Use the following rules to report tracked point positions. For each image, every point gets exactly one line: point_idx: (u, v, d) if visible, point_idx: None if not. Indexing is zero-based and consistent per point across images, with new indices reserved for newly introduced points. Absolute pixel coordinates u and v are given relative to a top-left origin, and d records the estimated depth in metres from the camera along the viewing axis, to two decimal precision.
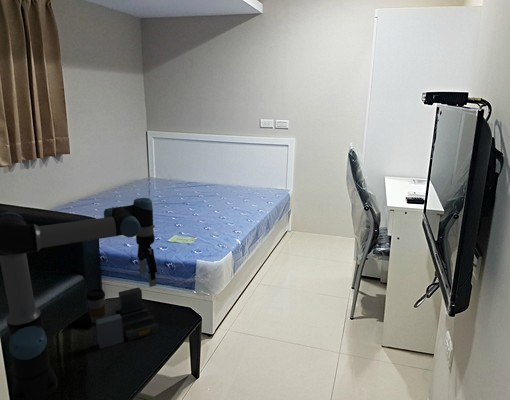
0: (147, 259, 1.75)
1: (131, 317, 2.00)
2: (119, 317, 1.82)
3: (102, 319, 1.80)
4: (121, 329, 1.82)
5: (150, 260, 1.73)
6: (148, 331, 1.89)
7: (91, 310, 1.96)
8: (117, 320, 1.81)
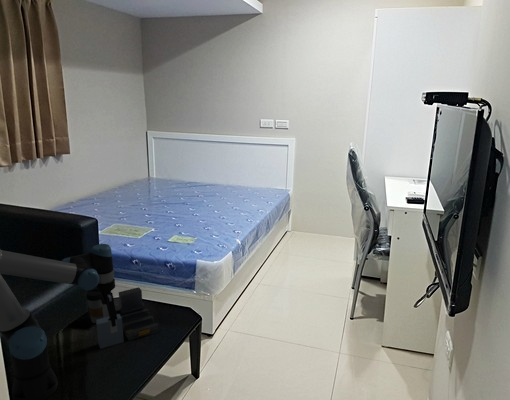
0: (107, 306, 1.74)
1: (131, 317, 2.00)
2: (119, 317, 1.82)
3: (102, 319, 1.80)
4: (121, 329, 1.82)
5: (110, 307, 1.71)
6: (148, 331, 1.89)
7: (91, 310, 1.96)
8: (117, 320, 1.81)
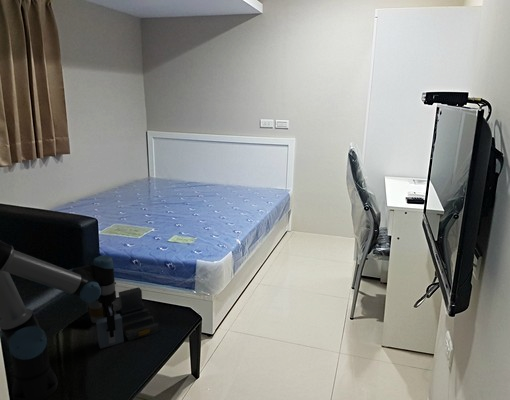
0: (107, 318, 1.77)
1: (131, 317, 2.00)
2: (119, 316, 1.82)
3: (102, 319, 1.80)
4: (121, 329, 1.82)
5: (110, 321, 1.75)
6: (148, 331, 1.89)
7: (91, 310, 1.96)
8: (117, 320, 1.81)
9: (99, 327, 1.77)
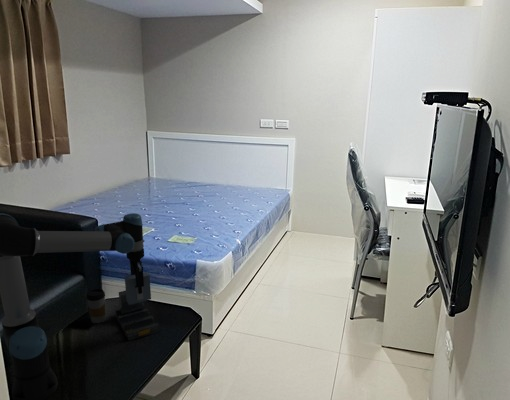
0: (136, 274, 1.82)
1: (131, 317, 2.00)
2: (147, 274, 1.87)
3: (130, 276, 1.85)
4: (149, 286, 1.87)
5: (139, 277, 1.80)
6: (148, 331, 1.89)
7: (91, 310, 1.96)
8: (145, 277, 1.85)
9: (128, 283, 1.82)
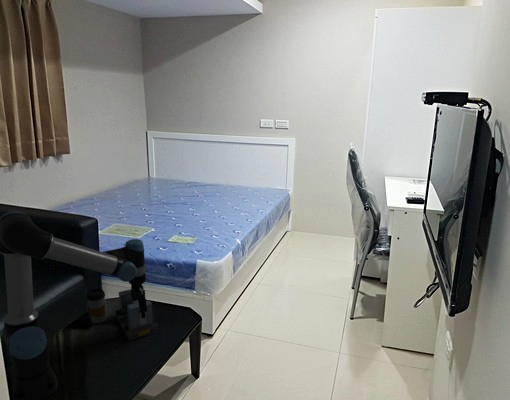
0: (138, 298, 1.84)
1: None
2: (149, 302, 1.91)
3: (133, 304, 1.89)
4: (151, 315, 1.91)
5: (141, 301, 1.81)
6: (148, 331, 1.89)
7: (91, 310, 1.96)
8: (147, 306, 1.89)
9: (131, 312, 1.86)
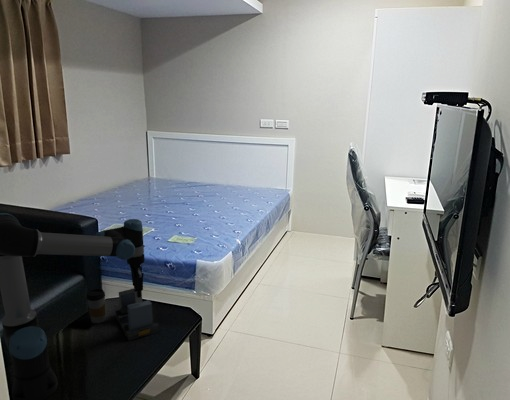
0: (136, 279, 1.83)
1: None
2: (149, 302, 1.91)
3: (133, 304, 1.89)
4: (151, 315, 1.91)
5: (138, 282, 1.81)
6: (148, 331, 1.89)
7: (91, 310, 1.96)
8: (147, 306, 1.89)
9: (131, 312, 1.86)
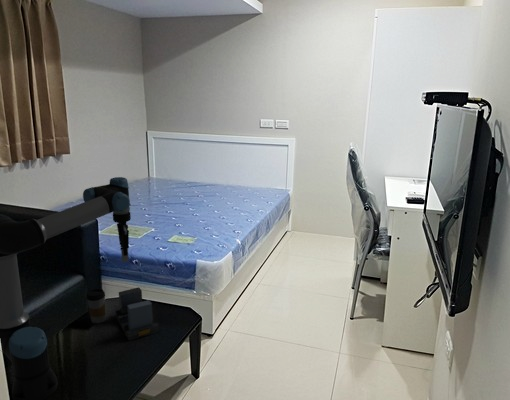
0: (122, 237, 1.86)
1: None
2: (149, 302, 1.91)
3: (133, 304, 1.89)
4: (151, 315, 1.91)
5: (124, 239, 1.84)
6: (148, 331, 1.89)
7: (91, 310, 1.96)
8: (147, 306, 1.89)
9: (131, 312, 1.86)
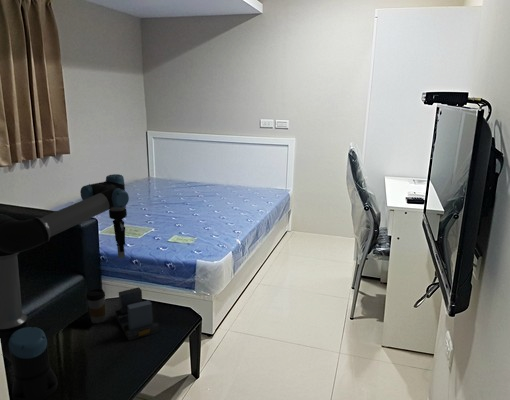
0: (118, 233, 1.88)
1: None
2: (149, 302, 1.91)
3: (133, 304, 1.89)
4: (151, 315, 1.91)
5: (120, 236, 1.86)
6: (148, 331, 1.89)
7: (91, 310, 1.96)
8: (147, 306, 1.89)
9: (131, 312, 1.86)
